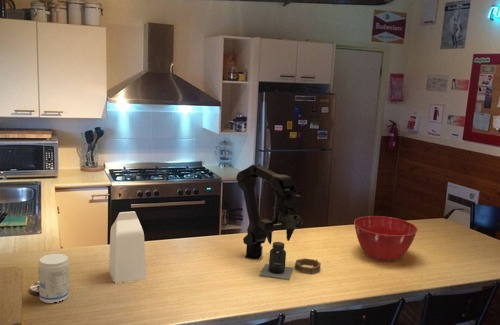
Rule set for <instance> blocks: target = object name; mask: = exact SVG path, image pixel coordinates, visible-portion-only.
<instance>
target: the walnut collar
mask: <svg viewBox="0 0 500 325" xmlns="http://www.w3.org/2000/svg"><path fill="white" fill-rule="evenodd" d="M305 265H306V266H305ZM321 265H322V264H321V262H320V261H319V260H318V259H313V258H305V257H304V258H299V259H296V260H295V262H294V271H297V272H299V273H301V274H305V275H315V274H318V273H320V271H321ZM310 266H312V267H310Z"/></svg>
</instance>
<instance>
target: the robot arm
mask: <svg viewBox="0 0 500 325" xmlns="http://www.w3.org/2000/svg"><path fill="white" fill-rule="evenodd" d="M257 178H260V179H262V180H264V181H266V182H267V183H270V185H271V187H272V189H273V191H272V192H271V193H272V194H273V195H275V198H274V199H275V201H274V206H273V207H272V211H273V216H271V219H272V220H269V219H267V218H264V219H261V218H260V212H259V208H258V202H257V198H256V190H255V187H256V185H257ZM236 181H237V184H238V187H239V188H240V189H241V190H242V192H243V196H244V203H245V207H246V213H247V217H248V227H247V229H246V231H247V233H246V235H245V236H244V237H243V239H242V241H243V244H244V245H246V250H245V251H246V252H245V256H244V258H246V259H251V260H252V259H253V260H260V259H261V257H262V256H263V246H262V244H265V243H266V240H267V242H268V244H269V245H272V241H273V240H272V238H273V232H274V231H275V229H274V227H275V226H283V227H284V229H285V231H286V233H285V234H286V241H288V242H289V241H290V239H291V238H292V235H293V233H294V231H295V230H296V229H297V228H299V227H300V226H302V225H303V219H302V218H301V217H300V216H299V215H298V214H300V213H301V212H302V211H303V210H304V207H305V201H304V200H303V199H302V196H301V195H299V194H298V191H297V188H296V186H295V184H294V181H293V179H292V177H291V176H290V175H286V174H278V173H276V172H274V171H272V170H270V169H268V168H267V167H264V166H263V165H261V164H259V163H256V164H251V165H250V166H249V167H246V168H244V169H242V170H241V171H238V173H237V174H236ZM291 212H294V213H297V215H292V214H291Z"/></svg>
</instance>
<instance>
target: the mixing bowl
mask: <svg viewBox="0 0 500 325" xmlns="http://www.w3.org/2000/svg"><path fill="white" fill-rule="evenodd" d="M353 225H354V227H355V233H356V238H357V241H358V244H359V246H360V248H361V250H362V251H363V253H364V254H366V256H368V257H369V258H370V259H372V260H376V261H379V262H386V263H387V262H390V263H391V262H394V261H397V260H399V259H401V258H402V257H404V256H405V254H406V253H407V252H408V250H409V249H410V247H411V246H412V243H413V242H414V239H415V237H416V234H417V233H418V231H419V230H418V229H419V228H418V227H417V226H416V225H415V224H414V223H412V222H410V221H407V220H404V219H400V218H396V217H390V216H384V215H383V216H382V215H381V216H379V215H367V216H360V217H358V218H355V219H354V221H353Z"/></svg>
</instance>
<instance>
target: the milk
mask: <svg viewBox="0 0 500 325" xmlns="http://www.w3.org/2000/svg"><path fill="white" fill-rule="evenodd" d="M145 247H146V244H145V234H144V229H143V227H142V225H141V222H140V220H139V218H138V215H137V212H136V211H122V212H121V211H120V212H119V213H118V215H117V217H116V218H115V221H114V222H113V223H112V225H111V227H110V237H109V256H108V257H109V260H108V274H109V273H110V274H109V276H110V275H111V276H110V278H111V277H112V278H113V279H112V278H111V279H112V281H113V280H114V281H113V283H114V282H115V283H118V284H122V283H121V282H125V283H129V282H128V281H131V282H136V281H135V280H138V281H142V280H141V279H144V280H147V271H146V270H147V269H146V268H147V267H146V249H145ZM115 283H114V284H115Z"/></svg>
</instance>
